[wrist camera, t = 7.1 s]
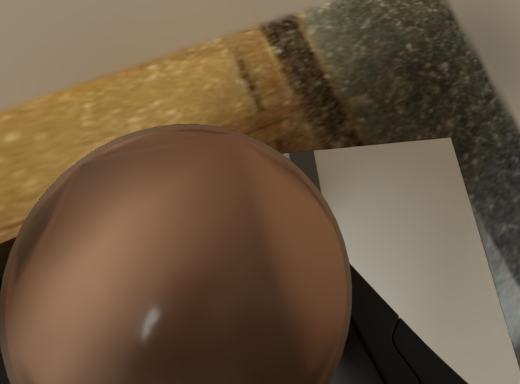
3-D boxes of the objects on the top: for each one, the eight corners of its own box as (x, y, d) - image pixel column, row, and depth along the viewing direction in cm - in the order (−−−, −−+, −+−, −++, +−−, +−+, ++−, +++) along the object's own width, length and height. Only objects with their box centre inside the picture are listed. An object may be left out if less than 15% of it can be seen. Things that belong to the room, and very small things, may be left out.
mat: (541, 457, 17) (548, 461, 17) (150, 544, 15) (148, 552, 15) (447, 139, 22) (451, 136, 22) (135, 169, 20) (133, 167, 19)
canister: (299, 303, 15) (416, 352, 5) (185, 371, 14) (78, 584, 4) (241, 197, 16) (253, 79, 6) (133, 252, 15) (-49, 209, 5)
